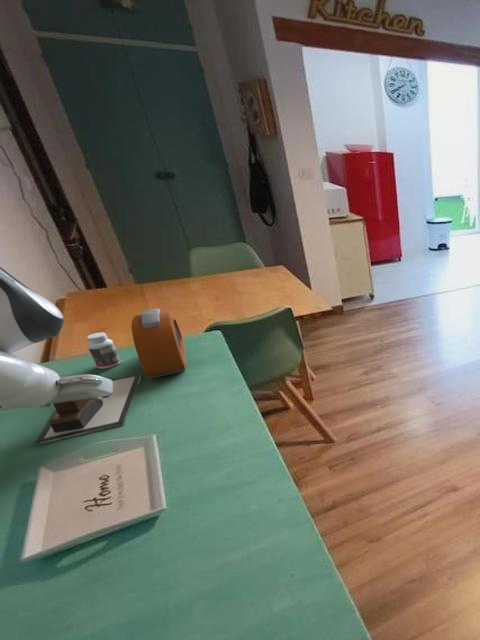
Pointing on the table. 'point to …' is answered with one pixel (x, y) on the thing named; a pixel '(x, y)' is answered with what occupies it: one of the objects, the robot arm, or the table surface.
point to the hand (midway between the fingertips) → (72, 400)
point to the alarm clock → (158, 343)
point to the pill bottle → (103, 351)
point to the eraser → (74, 414)
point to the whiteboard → (101, 411)
